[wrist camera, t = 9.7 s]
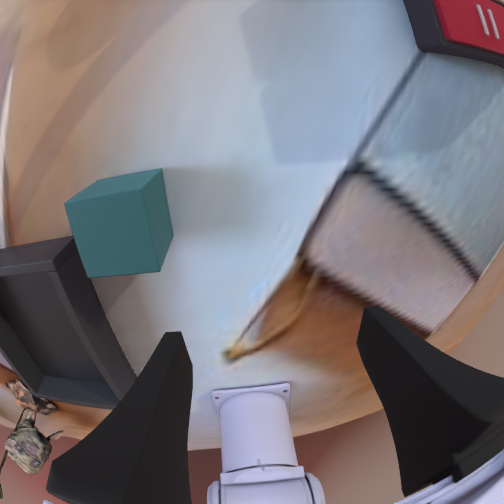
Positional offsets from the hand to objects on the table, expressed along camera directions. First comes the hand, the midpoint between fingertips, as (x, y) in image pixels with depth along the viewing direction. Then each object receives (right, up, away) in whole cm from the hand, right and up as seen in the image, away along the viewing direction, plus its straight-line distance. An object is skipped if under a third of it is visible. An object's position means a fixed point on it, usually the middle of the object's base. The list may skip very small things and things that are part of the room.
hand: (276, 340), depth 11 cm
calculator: (+16, +24, 0) cm, 29 cm away
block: (-8, +6, +6) cm, 12 cm away
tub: (-20, -3, +10) cm, 22 cm away
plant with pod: (-33, -18, +17) cm, 41 cm away
